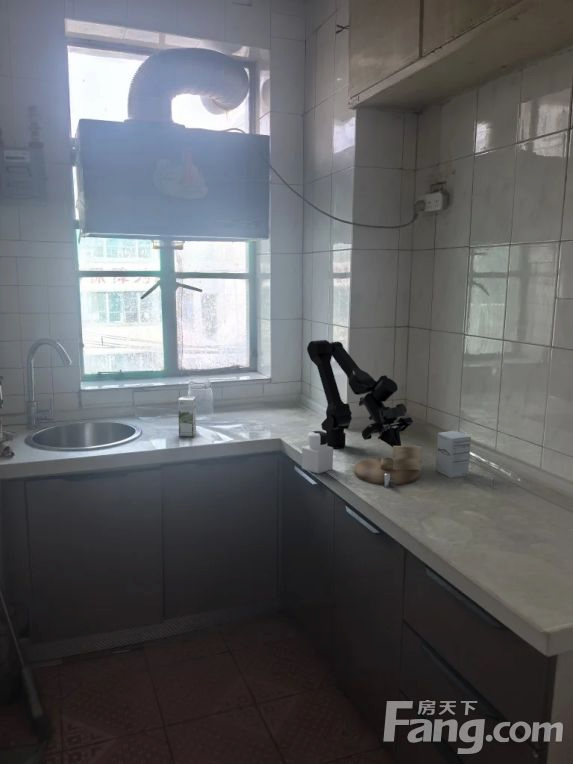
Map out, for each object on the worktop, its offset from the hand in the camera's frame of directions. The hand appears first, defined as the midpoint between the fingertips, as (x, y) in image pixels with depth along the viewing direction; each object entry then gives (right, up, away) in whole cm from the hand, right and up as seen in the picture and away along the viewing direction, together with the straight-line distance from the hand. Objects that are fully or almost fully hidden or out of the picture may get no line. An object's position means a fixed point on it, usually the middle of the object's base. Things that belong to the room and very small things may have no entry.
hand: (400, 450), depth 192 cm
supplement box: (+16, -7, -2) cm, 17 cm away
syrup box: (-74, +1, +38) cm, 83 cm away
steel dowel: (-7, -9, -15) cm, 18 cm away
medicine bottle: (-26, -6, +1) cm, 27 cm away
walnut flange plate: (-5, -7, -4) cm, 9 cm away
